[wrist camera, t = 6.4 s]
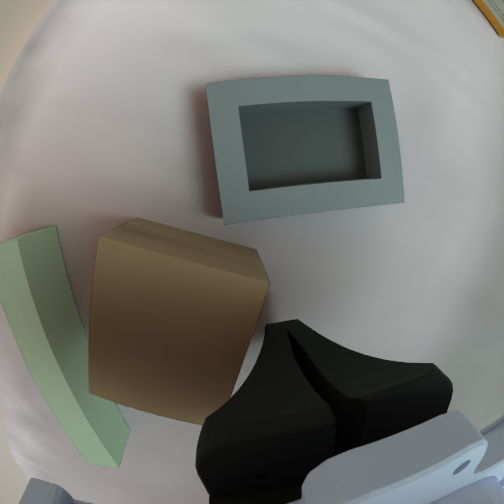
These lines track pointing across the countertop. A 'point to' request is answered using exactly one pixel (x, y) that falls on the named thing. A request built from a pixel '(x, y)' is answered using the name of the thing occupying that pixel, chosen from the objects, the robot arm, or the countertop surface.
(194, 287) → the tan block
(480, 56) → the countertop surface
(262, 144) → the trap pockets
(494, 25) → the supplement box
